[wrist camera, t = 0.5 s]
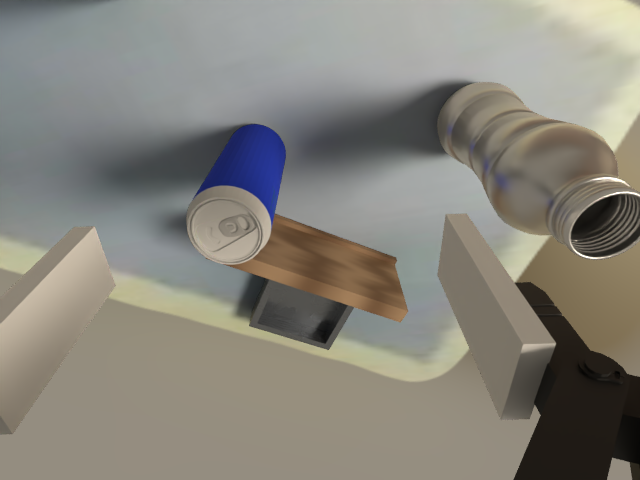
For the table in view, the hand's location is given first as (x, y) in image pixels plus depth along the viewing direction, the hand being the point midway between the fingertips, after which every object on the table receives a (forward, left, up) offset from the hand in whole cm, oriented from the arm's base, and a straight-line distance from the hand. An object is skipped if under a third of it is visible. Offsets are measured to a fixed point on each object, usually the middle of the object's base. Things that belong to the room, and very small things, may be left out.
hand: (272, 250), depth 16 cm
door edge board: (+6, -11, -23) cm, 26 cm away
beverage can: (-2, -5, -23) cm, 24 cm away
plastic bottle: (+14, +5, -23) cm, 27 cm away
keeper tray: (+8, -18, -23) cm, 30 cm away
